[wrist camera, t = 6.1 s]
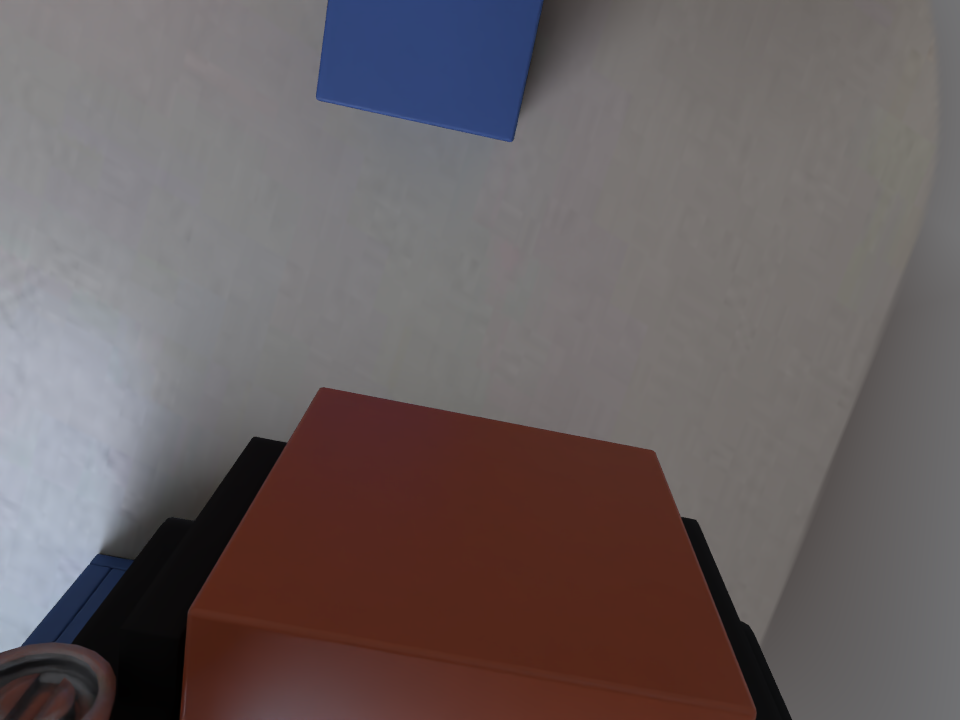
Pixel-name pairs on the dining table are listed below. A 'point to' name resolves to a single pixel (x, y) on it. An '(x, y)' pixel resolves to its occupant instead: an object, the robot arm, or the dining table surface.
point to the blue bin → (80, 601)
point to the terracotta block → (457, 581)
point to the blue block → (431, 60)
